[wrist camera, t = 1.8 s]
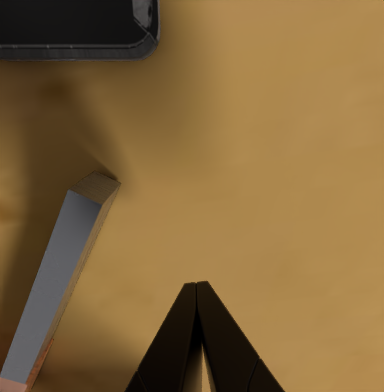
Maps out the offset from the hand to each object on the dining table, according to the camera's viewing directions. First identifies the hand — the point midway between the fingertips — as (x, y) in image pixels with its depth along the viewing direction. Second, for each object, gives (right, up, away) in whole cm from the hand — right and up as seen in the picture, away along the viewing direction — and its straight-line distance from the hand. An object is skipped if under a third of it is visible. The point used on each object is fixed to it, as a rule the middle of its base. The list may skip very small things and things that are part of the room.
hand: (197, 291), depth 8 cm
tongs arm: (-10, -4, +7) cm, 13 cm away
